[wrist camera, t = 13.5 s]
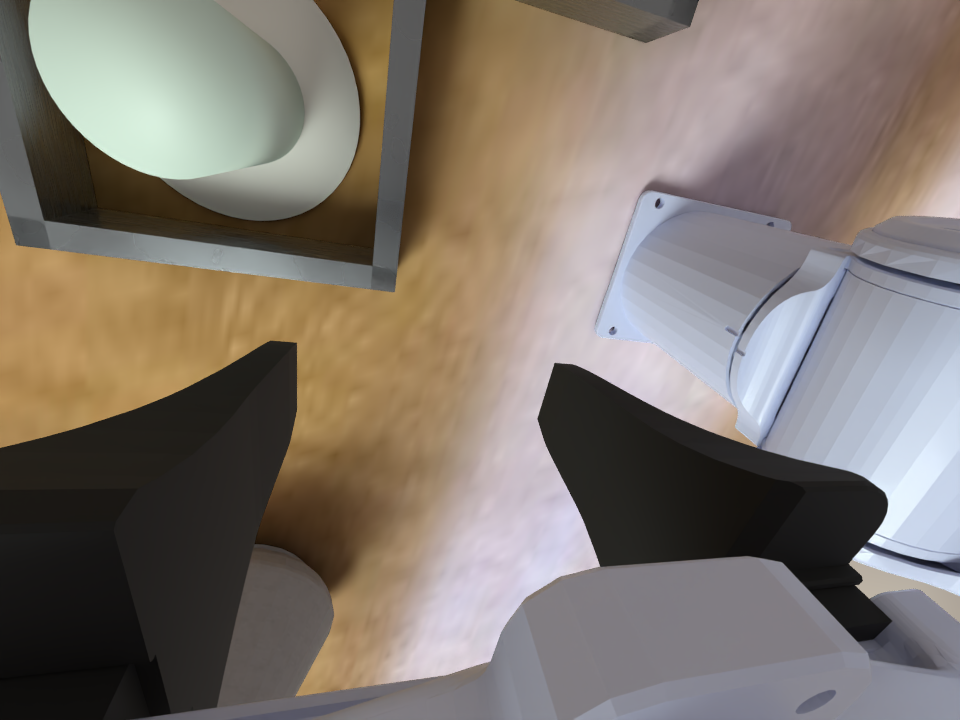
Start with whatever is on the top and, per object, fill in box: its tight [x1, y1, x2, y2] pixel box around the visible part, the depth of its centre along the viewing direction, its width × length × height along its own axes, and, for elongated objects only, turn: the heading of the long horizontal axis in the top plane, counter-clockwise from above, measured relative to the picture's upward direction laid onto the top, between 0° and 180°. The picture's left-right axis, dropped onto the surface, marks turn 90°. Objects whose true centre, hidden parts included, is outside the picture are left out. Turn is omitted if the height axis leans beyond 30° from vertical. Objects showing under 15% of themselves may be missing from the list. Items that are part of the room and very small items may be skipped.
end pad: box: [160, 0, 360, 221], centre depth 16 cm, size 9×9×1 cm
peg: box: [28, 0, 305, 179], centre depth 13 cm, size 4×4×7 cm
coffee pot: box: [217, 544, 334, 708], centre depth 23 cm, size 21×12×15 cm, turn 79°
